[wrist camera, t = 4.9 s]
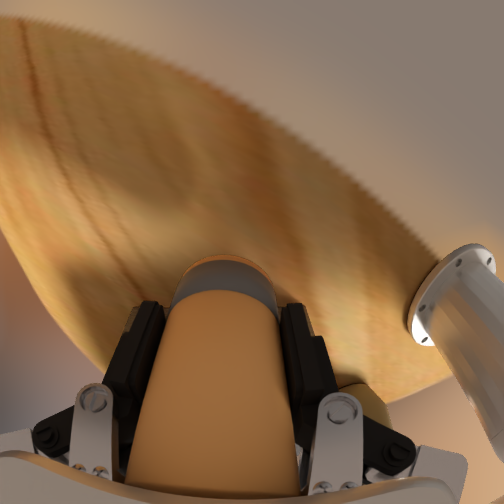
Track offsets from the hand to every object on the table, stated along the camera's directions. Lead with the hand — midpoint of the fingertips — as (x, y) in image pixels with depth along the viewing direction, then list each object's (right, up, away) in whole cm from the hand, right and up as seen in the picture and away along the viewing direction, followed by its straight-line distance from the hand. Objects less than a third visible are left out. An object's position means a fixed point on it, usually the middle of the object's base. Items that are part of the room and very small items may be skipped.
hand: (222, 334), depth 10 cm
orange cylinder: (0, +1, +2) cm, 2 cm away
